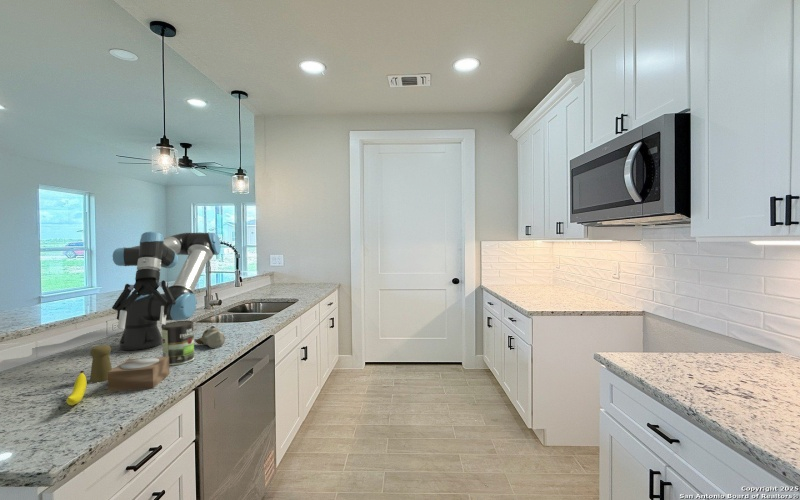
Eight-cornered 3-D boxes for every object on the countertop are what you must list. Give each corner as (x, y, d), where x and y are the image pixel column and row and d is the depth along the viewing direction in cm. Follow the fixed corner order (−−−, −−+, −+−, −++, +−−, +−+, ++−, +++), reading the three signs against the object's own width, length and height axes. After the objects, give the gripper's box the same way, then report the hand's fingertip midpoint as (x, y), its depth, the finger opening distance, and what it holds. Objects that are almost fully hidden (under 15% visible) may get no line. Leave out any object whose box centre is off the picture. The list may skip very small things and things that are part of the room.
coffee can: (201, 356, 139) (199, 320, 138) (179, 366, 129) (178, 327, 128) (178, 355, 141) (177, 319, 140) (155, 364, 131) (154, 326, 130)
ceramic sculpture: (204, 330, 146) (192, 326, 156) (205, 351, 146) (193, 346, 156) (231, 325, 154) (218, 322, 164) (232, 346, 154) (218, 341, 164)
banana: (61, 418, 92) (60, 394, 91) (76, 392, 107) (75, 371, 107) (76, 415, 93) (75, 391, 93) (89, 390, 109) (88, 369, 109)
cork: (86, 384, 114) (85, 349, 113) (92, 377, 119) (91, 344, 119) (110, 380, 116) (109, 347, 116) (115, 374, 122) (114, 342, 121)
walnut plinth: (129, 377, 119) (128, 358, 119) (169, 373, 122) (169, 355, 122) (108, 391, 108) (107, 371, 107) (153, 388, 110) (152, 367, 110)
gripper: (105, 271, 132) (96, 329, 124) (179, 264, 135) (174, 320, 128) (118, 277, 139) (110, 332, 131) (188, 270, 142) (183, 324, 135)
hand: (141, 326), depth 130 cm, fingers open, 13 cm apart
